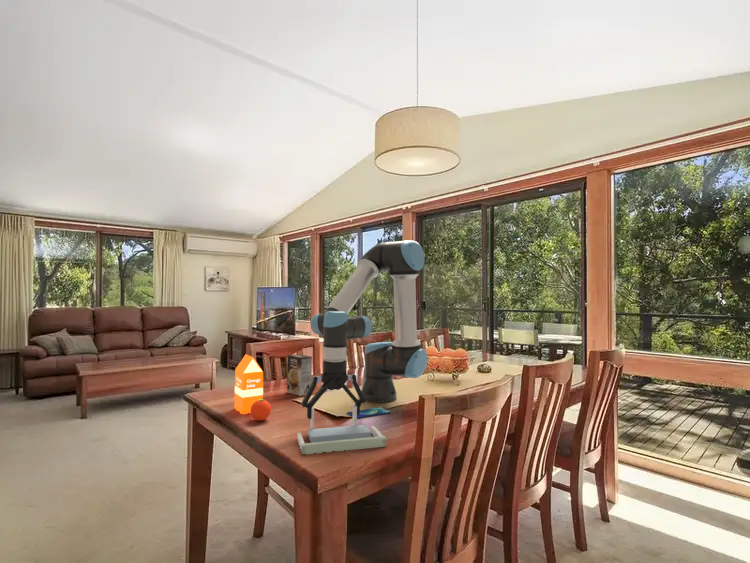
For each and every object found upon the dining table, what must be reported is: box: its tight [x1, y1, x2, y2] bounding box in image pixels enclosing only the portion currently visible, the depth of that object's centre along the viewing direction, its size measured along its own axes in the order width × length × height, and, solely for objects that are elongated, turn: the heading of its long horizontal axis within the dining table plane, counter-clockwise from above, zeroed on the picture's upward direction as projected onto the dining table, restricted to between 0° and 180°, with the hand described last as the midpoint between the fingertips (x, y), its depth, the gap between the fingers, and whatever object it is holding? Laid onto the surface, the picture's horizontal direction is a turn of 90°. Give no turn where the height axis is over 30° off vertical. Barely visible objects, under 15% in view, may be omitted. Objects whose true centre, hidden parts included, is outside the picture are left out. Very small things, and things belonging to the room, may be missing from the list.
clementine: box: [249, 398, 272, 422], centre depth 142 cm, size 8×7×7 cm
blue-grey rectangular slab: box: [307, 424, 372, 443], centre depth 127 cm, size 18×7×2 cm, turn 107°
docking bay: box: [296, 425, 387, 455], centre depth 122 cm, size 24×12×2 cm, turn 107°
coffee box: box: [286, 353, 313, 397], centre depth 180 cm, size 9×6×16 cm
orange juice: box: [234, 353, 264, 415], centre depth 154 cm, size 8×9×20 cm
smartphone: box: [346, 406, 391, 420], centre depth 151 cm, size 8×1×15 cm
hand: (333, 427), depth 131 cm, fingers open, 13 cm apart
